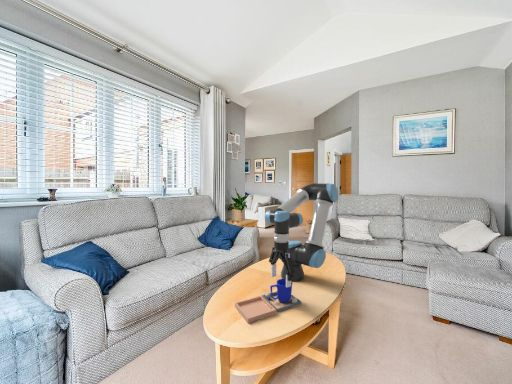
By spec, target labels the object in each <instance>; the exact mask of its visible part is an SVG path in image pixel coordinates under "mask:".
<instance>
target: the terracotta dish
mask: <svg viewBox="0 0 512 384" xmlns="http://www.w3.org/2000/svg"><path fill="white" fill-rule="evenodd" d="M234 307H235V309H236V310H237V311H238V313H239V314H240V315H241V317H243V319H244V320H245V322H246V323H247V324H249V323H252V322H256V321H259V320H261V319H265V318H268V317H271V316H275V315H277V312H276V309H275V308H274V307H273V306H272V305H270V304H269V303H268V302H267V301H266V300H265V299H264V298H263V297H262V295H259V296H255V297H251V298H247V299H244V300H240V301H239V300H238V301H236V302H234Z"/></svg>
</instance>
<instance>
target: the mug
mask: <svg viewBox="0 0 512 384" xmlns="http://www.w3.org/2000/svg"><path fill="white" fill-rule="evenodd" d="M269 287H270V293H271V298H272V300H274V301H276V300H278V301H279V302H280V303H282V304H288V303H290V302H291V301H292V298H291V294H292V292H293V281H291V287H286V279H283V278H280V279H277V280H276V284H272V285H270V286H269ZM274 287H276V289H277V290H276V291H277V295H276V297H275V296H274V295H273V294H272V293H273V288H274Z"/></svg>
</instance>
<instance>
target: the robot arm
mask: <svg viewBox="0 0 512 384" xmlns="http://www.w3.org/2000/svg"><path fill="white" fill-rule="evenodd" d="M338 199H339V191H338V187H337V186H336V184H333V183H319V182H318V183H316V182H315V183H314V182H313V183H309V184H307V185H305V186H302V187H300V189H298V190H297V191H296V193H294V195H292V196H291V197H290V198H288V199H287V200H286V201H284V202H283V203H282V204H280V205H279V206H278V207H276V208H275V209H273V210H271V209H270V210H266V212H265V214H264V221H265V222H266V223H268V224H271V225H274V230H273V231H274V235H273V236H274V237H273V238H274V239H273V240H274V242H273V246H272V249H271V253H270V256H269V260H268V262H269V263H270V267H271V272H270V273H271V276H270V277H271V278H274V277H277V262H278V261H279V260H280V261H281V262H282V264H283V266H282V269H281V272H280V277H281V279H286V287H291V281H292V282H300V281H303V280H304V279H305V272H304V269H303V266H307V267H309V268H314V269H319V268H321V267H322V266H323V265H324V263H325V260H326V256H327V255H326V254H327V253H326V251H325V249H324V245H323V244H322V243H323V240H324V235H325V230H326V226H327V221H328V217H329V211H330V208H331V207H332V206H334V203H335V202H337V201H338ZM309 201H313V202H314V204H315V207H314V213H313V216H312V221H311V226H310V230H309V232H308V233H309V235H308V237H307V240H306V241H305V242H304V244H303V242H302V241H300V240H290V229H292V228H297V227H299V226H301V225H303V224H304V217H303V215H302V214H301V213H300V212H294V211H296V210H297V209H298V207H300V206H301V205H303V204H304V203H307V202H309ZM302 265H303V266H302Z"/></svg>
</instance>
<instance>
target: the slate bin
mask: <svg viewBox="0 0 512 384" xmlns="http://www.w3.org/2000/svg"><path fill="white" fill-rule="evenodd" d="M269 293H270V295H271V292H269ZM272 294H273V296H277V290H276V291H272ZM265 295H266V293H265V294H262V295H261V296H262V297H263V298H264V299H265V300H266V301H267V302H268V303H269V304H270V305H272V306H273V307H274V308H275V309H276V313H280V312H283V311H285V310H288V309H292V308H293V307H297V306H301V305H302V301H301V300H300V299H298V298H297V297H296V296H295V295H293V294H292V293H291V299H292V298H296V299H297V300H298V302H296V303H290V304H287V305H284V306H280V307H276V306H275V304H273V303H272V302H271V301H270V299H266V297H265Z"/></svg>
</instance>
